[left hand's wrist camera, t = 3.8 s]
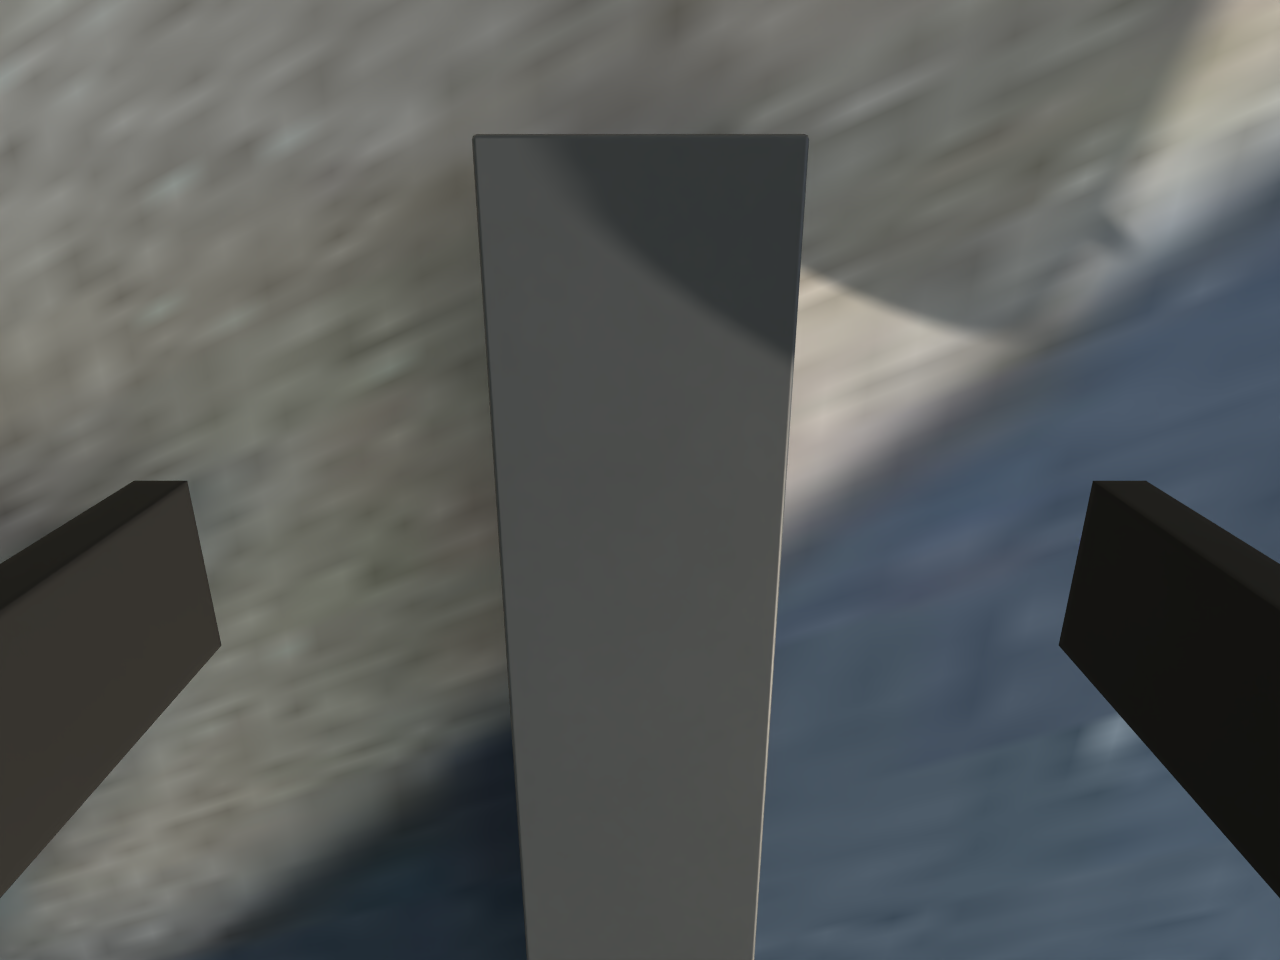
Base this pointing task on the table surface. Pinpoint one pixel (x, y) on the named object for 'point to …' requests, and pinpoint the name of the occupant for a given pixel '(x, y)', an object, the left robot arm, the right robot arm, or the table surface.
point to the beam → (640, 520)
